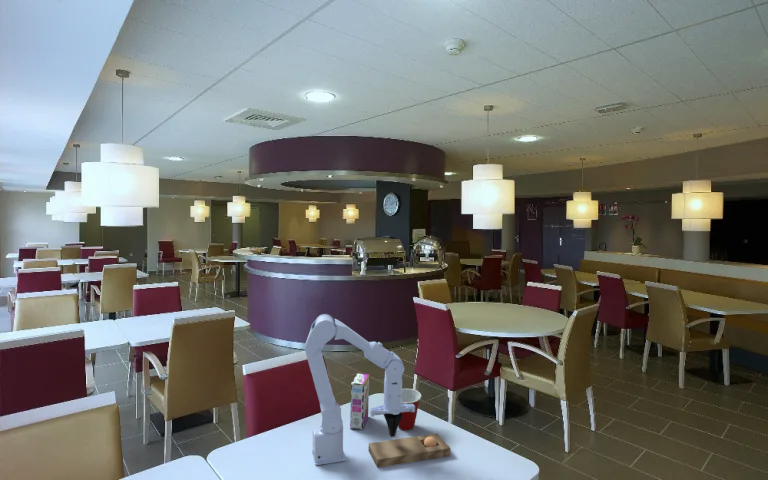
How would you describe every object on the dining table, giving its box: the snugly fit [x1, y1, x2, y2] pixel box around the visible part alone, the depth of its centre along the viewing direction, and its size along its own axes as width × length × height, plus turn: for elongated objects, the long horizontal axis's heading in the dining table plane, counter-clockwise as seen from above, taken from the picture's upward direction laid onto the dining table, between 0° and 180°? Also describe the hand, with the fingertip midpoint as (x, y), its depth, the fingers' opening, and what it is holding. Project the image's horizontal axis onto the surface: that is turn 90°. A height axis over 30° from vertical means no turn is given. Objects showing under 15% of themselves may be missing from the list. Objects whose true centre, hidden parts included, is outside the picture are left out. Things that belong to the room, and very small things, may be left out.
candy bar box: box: [349, 373, 370, 431], centre depth 159 cm, size 11×5×16 cm, turn 172°
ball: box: [424, 437, 436, 448], centre depth 140 cm, size 4×4×4 cm
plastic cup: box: [397, 388, 422, 431], centre depth 155 cm, size 11×11×12 cm
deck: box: [368, 433, 451, 469], centre depth 138 cm, size 24×10×2 cm, turn 107°
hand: (392, 435), depth 139 cm, fingers closed
